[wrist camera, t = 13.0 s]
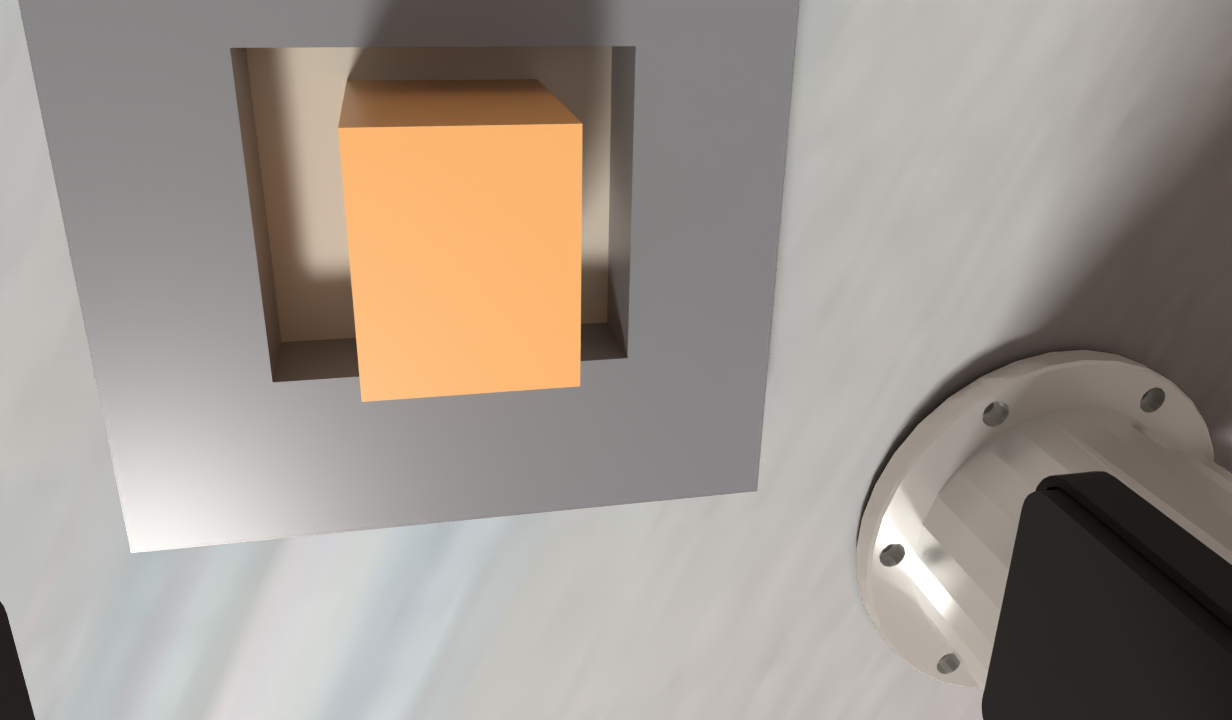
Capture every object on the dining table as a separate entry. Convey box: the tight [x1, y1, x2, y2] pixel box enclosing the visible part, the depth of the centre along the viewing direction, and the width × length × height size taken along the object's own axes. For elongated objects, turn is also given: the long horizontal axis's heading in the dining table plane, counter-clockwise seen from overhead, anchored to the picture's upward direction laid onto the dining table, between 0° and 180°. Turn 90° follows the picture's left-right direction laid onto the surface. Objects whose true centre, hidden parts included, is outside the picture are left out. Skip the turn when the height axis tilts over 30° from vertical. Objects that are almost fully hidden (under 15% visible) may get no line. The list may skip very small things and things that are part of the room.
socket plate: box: [18, 0, 799, 553], centre depth 24 cm, size 16×16×3 cm
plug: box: [338, 79, 583, 402], centre depth 22 cm, size 4×6×6 cm
